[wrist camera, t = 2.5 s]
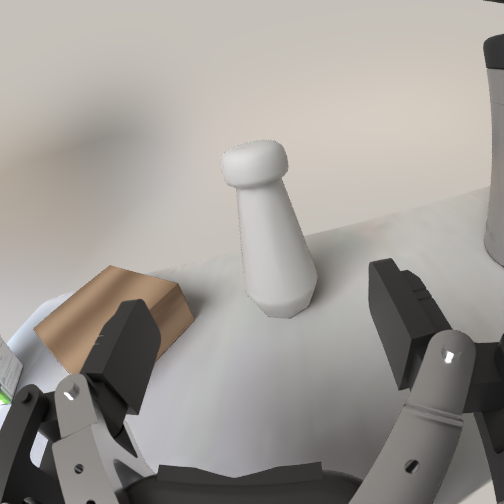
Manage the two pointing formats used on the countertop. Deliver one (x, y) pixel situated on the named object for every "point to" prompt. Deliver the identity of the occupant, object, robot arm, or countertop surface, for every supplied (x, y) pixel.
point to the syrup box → (8, 373)
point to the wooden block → (111, 314)
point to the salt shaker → (269, 230)
